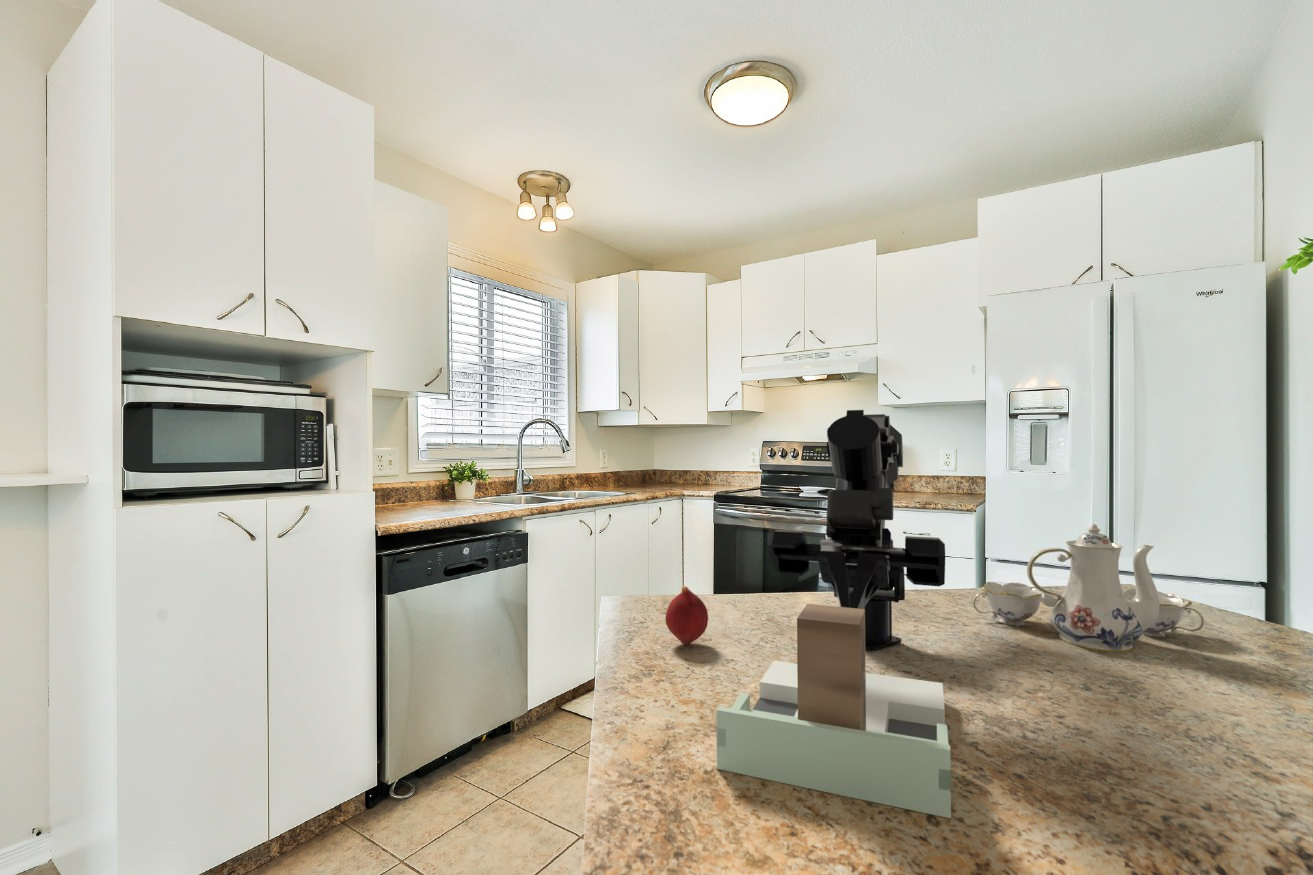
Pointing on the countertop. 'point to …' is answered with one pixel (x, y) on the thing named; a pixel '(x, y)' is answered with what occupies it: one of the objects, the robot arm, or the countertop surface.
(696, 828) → the countertop surface
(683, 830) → the countertop surface
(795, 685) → the box
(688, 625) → the onion
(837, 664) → the walnut block
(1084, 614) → the chinaware
